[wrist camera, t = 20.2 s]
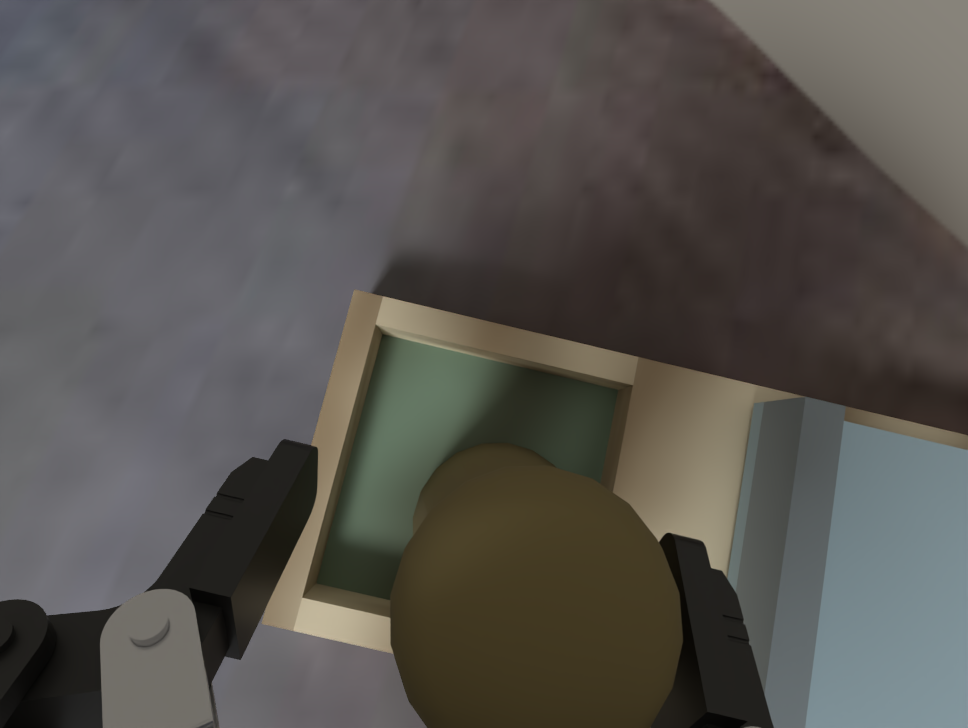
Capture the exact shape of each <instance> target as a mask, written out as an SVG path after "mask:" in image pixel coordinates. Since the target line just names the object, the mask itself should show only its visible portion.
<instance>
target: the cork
mask: <svg viewBox="0 0 968 728" xmlns="http://www.w3.org/2000/svg"><path fill="white" fill-rule="evenodd" d="M390 644H391V647H392V650H393V654H394V657H395V660H396V663H397V666H398V669H399V673H400V676H401V679H402V682H403V685H404V689H405V692H406V694H407V697H408V700H409V702H410V704H411V705H412V707H413V708H414V709H415V711H416V712H417V714H418V715H419V717H420V718H421V719H422V721H423V722H424V724H425V725H426V726H427V728H650V727H651V725H652V723H653V722H654V720H655V718H656V716H657V715H658V713H659V711H660V709H661V708H662V706H663V704H664V702H665V701H666V699H667V697H668V695H669V694H670V692H671V690H672V688H673V684H674V680H675V675H676V671H677V666H678V662H679V657H680V653H681V648H682V644H683V633H682V620H681V607H680V594H679V591H678V588H677V585H676V583H675V580H674V578H673V575H672V572H671V570H670V567H669V565H668V562H667V559H666V557H665V554H664V552H663V549H662V547H661V545H660V543H659V542H658V540H657V538H656V537H655V536H654V535H653V533H652V532H651V531H650V530H649V528H648V527H647V526H646V524H645V523H644V522H643V521H642V519H641V518H640V517H639V515H638V514H637V513H636V512H635V510H634V509H633V508H632V506H631V505H630V504H629V503H627V502H626V501H625V500H623V499H622V498H620V497H619V496H617V495H616V494H614V493H613V492H611V491H610V490H609V489H607V488H606V487H604V486H603V485H601V484H600V483H598V482H597V481H596V480H594V479H592V478H589V477H586V476H582V475H579V474H575V473H572V472H569V471H565V470H562V469H559V468H556V467H555V465H553V464H552V463H550V462H549V461H548V460H546V459H545V458H543V457H542V456H540V455H539V454H537V453H536V452H535V451H533V450H530V449H527V448H523V447H520V446H517V445H513V444H510V443H485V444H479V445H476V446H474V447H471V448H468V449H465V450H463V451H460V452H457V453H456V454H455V455H453V456H452V457H451V458H449V459H448V460H447V461H446V462H444V463H443V464H442V465H440V466H439V467H438V468H436V470H435V471H434V473H433V474H432V476H431V477H430V478H429V480H428V481H427V483H426V484H425V486H424V487H423V489H422V490H421V492H420V495H419V499H418V502H417V505H416V508H415V512H414V515H413V537H412V538H411V540H410V541H409V542H408V544H407V546H406V547H405V549H404V552H403V555H402V558H401V562H400V565H399V568H398V572H397V575H396V578H395V581H394V585H393V588H392V591H391V595H390Z"/></svg>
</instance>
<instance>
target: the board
mask: <svg viewBox="0 0 968 728" xmlns="http://www.w3.org/2000/svg"><path fill="white" fill-rule="evenodd" d="M799 397H805V396H800V395H796V394H792V393H788V392H784V391H779V390H775V389H771V388H767V387H762V386H758V385H754V384H750V383H746V382H741V381H737V380H733V379H729V378H725V377H720V376H716V375H712V374H708V373H704V372H699V371H695V370H691V369H687V368H683V367H678V366H674V365H670V364H666V363H662V362H657V361H653V360H649V359H645V358H640V357H636V356H632V355H628V354H624V353H619V352H615V351H611V350H607V349H603V348H598V347H594V346H590V345H586V344H582V343H577V342H573V341H569V340H565V339H561V338H556V337H552V336H548V335H544V334H540V333H535V332H531V331H527V330H523V329H518V328H514V327H510V326H506V325H502V324H497V323H493V322H489V321H485V320H481V319H476V318H472V317H468V316H464V315H460V314H455V313H451V312H447V311H443V310H439V309H434V308H430V307H426V306H422V305H418V304H413V303H409V302H405V301H401V300H396V299H392V298H388V297H384V296H380V295H375V294H371V293H367V292H363V291H359V290H354V293H353V296H352V300H351V304H350V307H349V311H348V314H347V318H346V322H345V325H344V329H343V332H342V336H341V340H340V343H339V347H338V350H337V354H336V358H335V361H334V365H333V368H332V372H331V376H330V379H329V383H328V386H327V390H326V394H325V397H324V401H323V404H322V408H321V412H320V415H319V419H318V422H317V426H316V430H315V433H314V437H313V440H312V444H311V446H315V447H317V448H318V485H317V495H316V500H315V504H314V507H313V510H312V512H311V515H310V517H309V519H308V521H307V523H306V526H305V528H304V530H303V532H302V534H301V536H300V538H299V540H298V542H297V544H296V546H295V548H294V550H293V552H292V555H291V557H290V559H289V561H288V563H287V565H286V567H285V569H284V571H283V573H282V575H281V577H280V579H279V581H278V583H277V586H276V588H275V590H274V592H273V594H272V596H271V598H270V600H269V602H268V604H267V606H266V610H265V613H264V617H263V621H262V624H265V625H270V626H274V627H278V628H283V629H287V630H292V631H296V632H301V633H305V634H309V635H314V636H318V637H323V638H327V639H331V640H336V641H340V642H345V643H349V644H353V645H358V646H362V647H367V648H371V649H376V650H380V651H384V652H389V653H393V650H392V647H391V644H390V595H391V591H392V588H393V585H394V581H395V578H396V575H397V572H398V568H399V565H400V562H401V558H402V555H403V552H404V549H405V547H406V546H407V544H408V542H409V541H410V540H411V538H412V537H413V515H414V512H415V508H416V505H417V502H418V499H419V495H420V492H421V490H422V489H423V487H424V486H425V484H426V483H427V481H428V480H429V478H430V477H431V476H432V474H433V473H434V471H435V470H436V468H438V467H439V466H440V465H442V464H443V463H444V462H446V461H447V460H448V459H449V458H451V457H452V456H453V455H455V454H456V453H457V452H460V451H463V450H465V449H468V448H471V447H474V446H476V445H479V444H485V443H510V444H513V445H517V446H520V447H523V448H527V449H530V450H533V451H535V452H536V453H537V454H539V455H540V456H542V457H543V458H545V459H546V460H548V461H549V462H550V463H552V464H553V465H555V467H556V468H559V469H562V470H565V471H569V472H572V473H575V474H579V475H582V476H586V477H589V478H592V479H594V480H596V481H597V482H598V483H600V484H601V485H603V486H604V487H606V488H607V489H609V490H610V491H611V492H613V493H614V494H616V495H617V496H619V497H620V498H622V499H623V500H625V501H626V502H627V503H629V504H630V505H631V506H632V508H633V509H634V510H635V512H636V513H637V514H638V515H639V517H640V518H641V519H642V521H643V522H644V523H645V524H646V526H647V527H648V528H649V530H650V531H651V532H652V533H653V535H654V536H655V537H656V538H657V540H658V542H659V541H660V540H661V538H662V537H663V536H664V535H665V534H666V533H673V534H677V535H681V536H685V537H689V538H693V539H698V540H701V541H702V542H703V543H704V544H705V546H706V549H707V553H708V557H709V561H710V566H711V568H713V569H717V570H721V571H723V573H724V574H725V576H726V578H727V577H728V571H729V564H730V558H731V551H732V544H733V538H734V531H735V525H736V518H737V512H738V505H739V499H740V492H741V486H742V479H743V473H744V466H745V460H746V453H747V446H748V440H749V433H750V427H751V420H752V414H753V407H754V403H760V402H768V401H775V400H783V399H791V398H799ZM844 421H847V422H851V423H855V424H859V425H864V426H868V427H872V428H876V429H880V430H885V431H889V432H893V433H897V434H901V435H906V436H910V437H914V438H918V439H923V440H927V441H931V442H935V443H939V444H944V445H948V446H952V447H956V448H960V449H965V450H968V435H964V434H960V433H956V432H952V431H948V430H943V429H939V428H935V427H931V426H927V425H922V424H918V423H914V422H910V421H906V420H901V419H897V418H893V417H889V416H884V415H880V414H876V413H872V412H868V411H863V410H859V409H855V408H851V407H847V406H846V409H845V417H844Z"/></svg>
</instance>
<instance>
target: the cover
mask: <svg viewBox="0 0 968 728" xmlns="http://www.w3.org/2000/svg"><path fill="white" fill-rule="evenodd" d="M845 409H846V406H843V405H839V404H835V403H830V402H826V401H822V400H818V399H814V398H809V397H799V398H791V399H783V400H775V401H768V402H760V403H754V407H753V414H752V420H751V427H750V433H749V440H748V446H747V453H746V460H745V466H744V473H743V479H742V486H741V492H740V499H739V505H738V512H737V518H736V525H735V531H734V538H733V544H732V551H731V558H730V564H729V571H728V577H727V579H728V581H729V582H730V584H731V586H732V587H733V589H734V590H735V592H736V594H737V596H738V600H739V603H740V607H741V611H742V614H743V618H744V621H743V624H745V625H746V629H747V632H748V636H749V645H751V647H752V651H753V654H754V658H755V662H756V665H757V669H758V673H759V676H760V680H761V684H762V687H763V691H764V695H765V698H766V702H767V705H768V709H769V713H770V716H771V720H772V723H773V726H774V728H968V450H965V449H960V448H956V447H952V446H948V445H944V444H939V443H935V442H931V441H927V440H923V439H918V438H914V437H910V436H906V435H901V434H897V433H893V432H889V431H885V430H880V429H876V428H872V427H868V426H864V425H859V424H855V423H851V422H847V421H844V417H845Z"/></svg>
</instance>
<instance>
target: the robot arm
mask: <svg viewBox="0 0 968 728" xmlns="http://www.w3.org/2000/svg"><path fill="white" fill-rule="evenodd" d="M317 485H318V448H317V447H315V446H311V445H307V444H303V443H299V442H295V441H290V440H286V439H284V440H282V441H281V442H280V443H279V445H278V446H277V448H276V449H275V451H274V452H273V454H272V456H271V457H270V459H269V460H268V461H267V460H263V459H259V458H255V457H252V458H251V459H249V460H248V461H246V462H245V463H244V464H242V465H241V466H239V467H238V468H237V469H235V470H234V471H233V472H231V473H230V475H229V476H228V478H227V479H226V481H225V482H224V484H223V485H222V487H221V488H220V489H219V491H218V492H217V496H216V497H214V498H213V500H212V501H211V503H210V504H209V506H208V507H207V508H206V511H205V513H204V514H202V516H201V517H200V519H199V520H198V522H197V523H196V524H195V526H194V527H193V529H192V530H191V532H190V533H189V535H188V536H187V538H186V539H185V541H184V542H183V543H182V545H181V546H180V548H179V549H178V551H177V552H176V554H175V555H174V557H173V558H172V559H171V561H170V562H169V564H168V565H167V567H166V568H165V570H164V571H163V573H162V574H161V575H160V577H159V578H158V579H157V581H156V582H155V583H154V584H153V585H152V586H151V587H150V588H149V589H147V590H146V591H145V592H144V593H142V594H139V595H137V596H135V597H133V598H131V599H130V600H128V601H127V602H125V603H124V604H122V605H120V606H117V607H114V608H110V609H106V610H100V611H90V612H80V613H69V614H58V615H48V616H47V615H46V613H45V612H44V610H43V609H42V608H41V607H40V606H39V605H38V604H36V603H34V602H31V601H27V600H18V599H17V600H7V601H2V602H0V728H220V727H219V721H218V715H217V709H216V703H215V697H214V691H213V685H212V680H213V678H214V676H215V674H216V672H217V670H218V668H219V667H220V665H221V663H222V661H223V659H224V657H225V656H226V657H230V658H234V659H239V660H241V658H242V656H243V654H244V652H245V650H246V648H247V646H248V644H249V641H250V639H251V637H252V635H253V633H254V631H255V629H256V627H257V625H258V623H259V621H260V619H261V617H262V615H263V612H264V610H265V608H266V606H267V604H268V602H269V600H270V598H271V596H272V594H273V592H274V590H275V588H276V586H277V583H278V581H279V579H280V577H281V575H282V573H283V571H284V569H285V567H286V565H287V563H288V561H289V559H290V557H291V555H292V552H293V550H294V548H295V546H296V544H297V542H298V540H299V538H300V536H301V534H302V532H303V530H304V528H305V526H306V523H307V521H308V519H309V517H310V515H311V512H312V510H313V507H314V504H315V500H316V495H317ZM659 543H660V545H661V547H662V549H663V552H664V554H665V557H666V559H667V562H668V565H669V567H670V570H671V572H672V575H673V578H674V580H675V583H676V585H677V588H678V591H679V594H680V607H681V620H682V633H683V644H682V648H681V653H680V657H679V662H678V666H677V671H676V675H675V680H674V684H673V688H672V690H671V692H670V694H669V695H668V697H667V699H666V701H665V702H664V704H663V706H662V708H661V709H660V711H659V713H658V715H657V716H656V718H655V720H654V722H653V723H652V725H651V728H774V726H773V723H772V720H771V716H770V713H769V709H768V705H767V702H766V698H765V695H764V691H763V687H762V684H761V680H760V676H759V673H758V669H757V665H756V662H755V658H754V654H753V651H752V647H751V645H749V636H748V632H747V629H746V625H745V624H743V621H744V618H743V614H742V611H741V607H740V603H739V600H738V596H737V594H736V592H735V590H734V589H733V587H732V586H731V584H730V582H729V581H728V579H727V578H726V576H725V574H724V573H723V571H721V570H717V569H713V568H711V566H710V561H709V557H708V553H707V549H706V546H705V544H704V543H703V542H702V541H701V540H698V539H693V538H689V537H685V536H681V535H677V534H673V533H666V534H665V535H664V536H663V537H662V538H661V540H660V541H659Z"/></svg>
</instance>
